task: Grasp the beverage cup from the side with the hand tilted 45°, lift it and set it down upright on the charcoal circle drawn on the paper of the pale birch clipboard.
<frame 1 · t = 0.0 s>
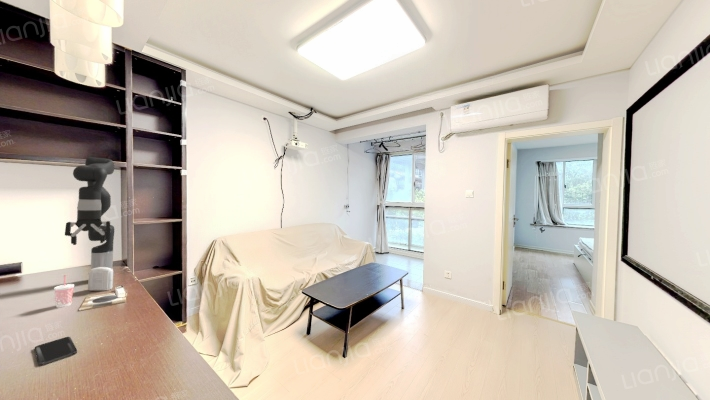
hand: (88, 243, 112), 29 cm above the table, tool pointing down, fingers open, 8 cm apart
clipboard: (105, 300, 119), on the table
beverage cup: (63, 305, 113), on the table
phone: (55, 352, 80), on the table
photo printer: (100, 290, 132), on the table
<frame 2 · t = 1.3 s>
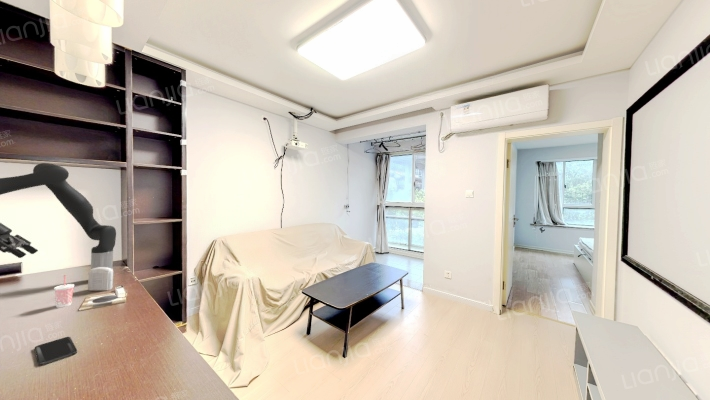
hand: (29, 254, 107), 25 cm above the table, tool tilted 45°, fingers open, 8 cm apart
nothing on the table moved.
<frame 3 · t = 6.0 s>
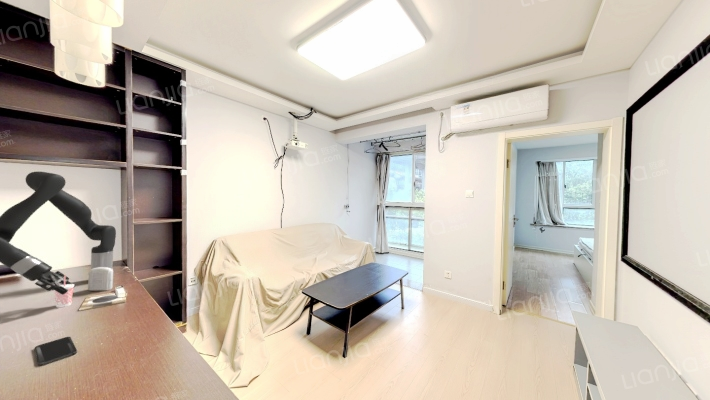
hand: (69, 290, 113), 7 cm above the table, tool tilted 45°, fingers closed on beverage cup, 6 cm apart
beverage cup: (63, 305, 113), on the table, touching gripper
everything else where it was.
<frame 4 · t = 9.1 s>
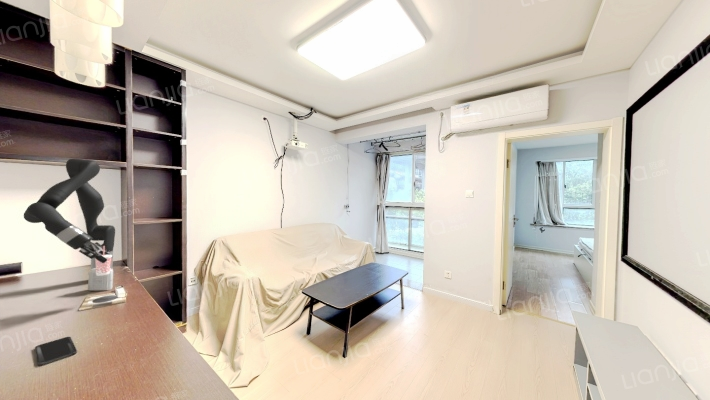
hand: (108, 259, 119), 20 cm above the table, tool tilted 45°, fingers closed on beverage cup, 6 cm apart
beverage cup: (102, 274, 119), point 13 cm above the table, touching gripper
everything else where it was.
when the fingers open (9 cm above the table, at t = 12.5 s): beverage cup drops 1 cm, resting on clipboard.
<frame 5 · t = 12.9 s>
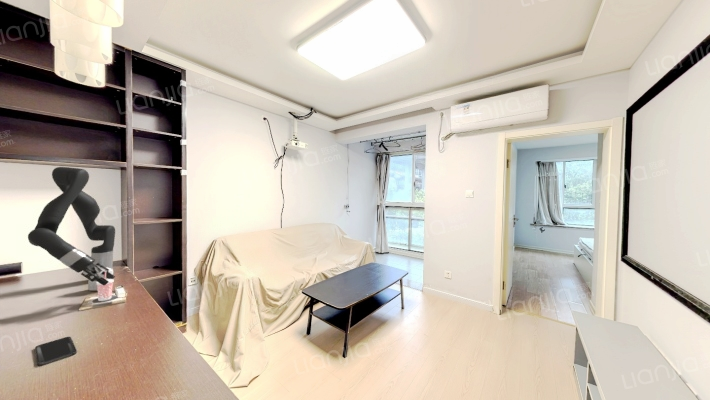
hand: (110, 281, 120), 9 cm above the table, tool tilted 45°, fingers open, 8 cm apart
beverage cup: (104, 299, 119), resting on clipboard
everything else where it was.
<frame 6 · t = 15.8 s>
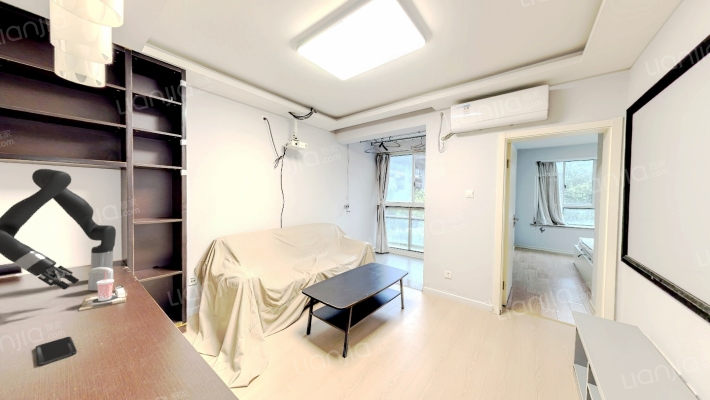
hand: (72, 284, 113), 9 cm above the table, tool tilted 45°, fingers open, 8 cm apart
nothing on the table moved.
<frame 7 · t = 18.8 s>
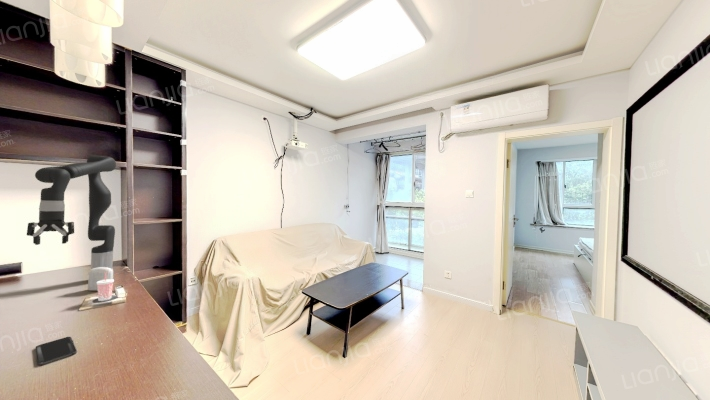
hand: (51, 243, 115), 28 cm above the table, tool pointing down, fingers open, 8 cm apart
nothing on the table moved.
at the end: beverage cup 0.3 cm off-centre on the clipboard, point 0.5 cm above the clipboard's base; beverage cup tilted 0°; the gripper is holding nothing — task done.
